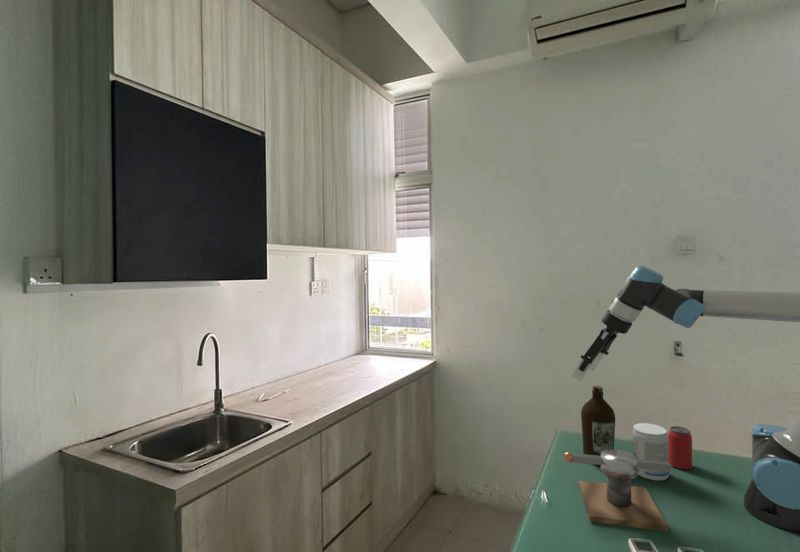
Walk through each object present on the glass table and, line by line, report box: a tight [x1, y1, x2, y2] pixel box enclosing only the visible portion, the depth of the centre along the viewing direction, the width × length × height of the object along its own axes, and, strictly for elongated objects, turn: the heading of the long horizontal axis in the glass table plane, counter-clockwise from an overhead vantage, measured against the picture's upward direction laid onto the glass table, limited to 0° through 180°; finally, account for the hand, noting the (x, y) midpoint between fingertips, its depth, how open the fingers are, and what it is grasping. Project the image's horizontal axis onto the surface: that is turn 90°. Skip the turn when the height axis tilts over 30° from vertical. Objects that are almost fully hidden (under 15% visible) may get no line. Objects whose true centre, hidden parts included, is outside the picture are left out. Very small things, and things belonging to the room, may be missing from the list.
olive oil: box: [580, 385, 616, 456], centre depth 141 cm, size 11×11×25 cm
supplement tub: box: [632, 422, 670, 481], centre depth 131 cm, size 10×10×15 cm
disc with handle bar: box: [562, 448, 672, 480], centre depth 115 cm, size 27×9×4 cm, turn 75°
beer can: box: [667, 425, 693, 470], centre depth 136 cm, size 7×7×12 cm
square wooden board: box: [578, 474, 669, 532], centre depth 115 cm, size 18×18×10 cm
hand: (582, 373), depth 127 cm, fingers open, 13 cm apart
